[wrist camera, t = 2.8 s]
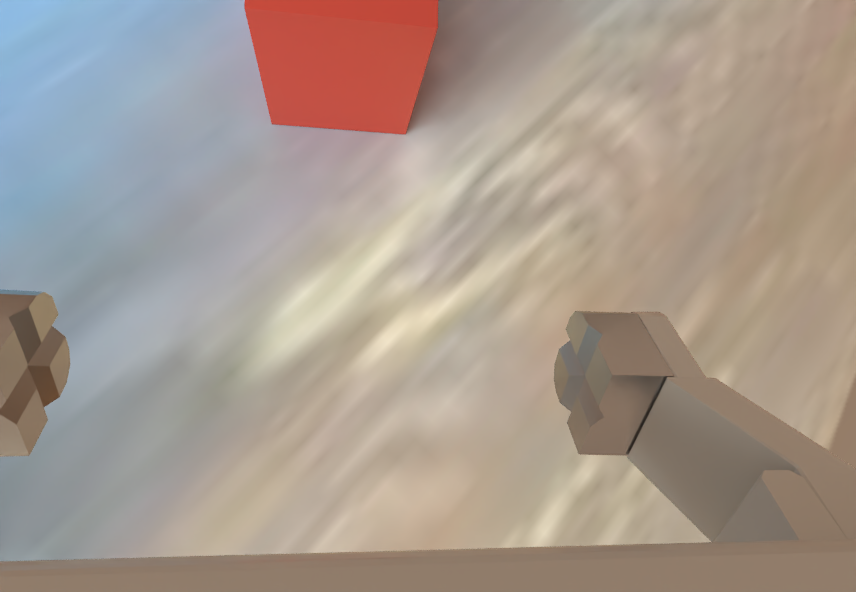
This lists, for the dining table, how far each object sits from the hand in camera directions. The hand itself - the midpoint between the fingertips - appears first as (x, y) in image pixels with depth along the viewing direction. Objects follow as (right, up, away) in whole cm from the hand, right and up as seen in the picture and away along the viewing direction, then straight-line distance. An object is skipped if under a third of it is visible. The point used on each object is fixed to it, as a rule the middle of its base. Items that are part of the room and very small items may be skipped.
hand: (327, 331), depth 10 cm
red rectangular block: (-2, +10, +16) cm, 19 cm away
